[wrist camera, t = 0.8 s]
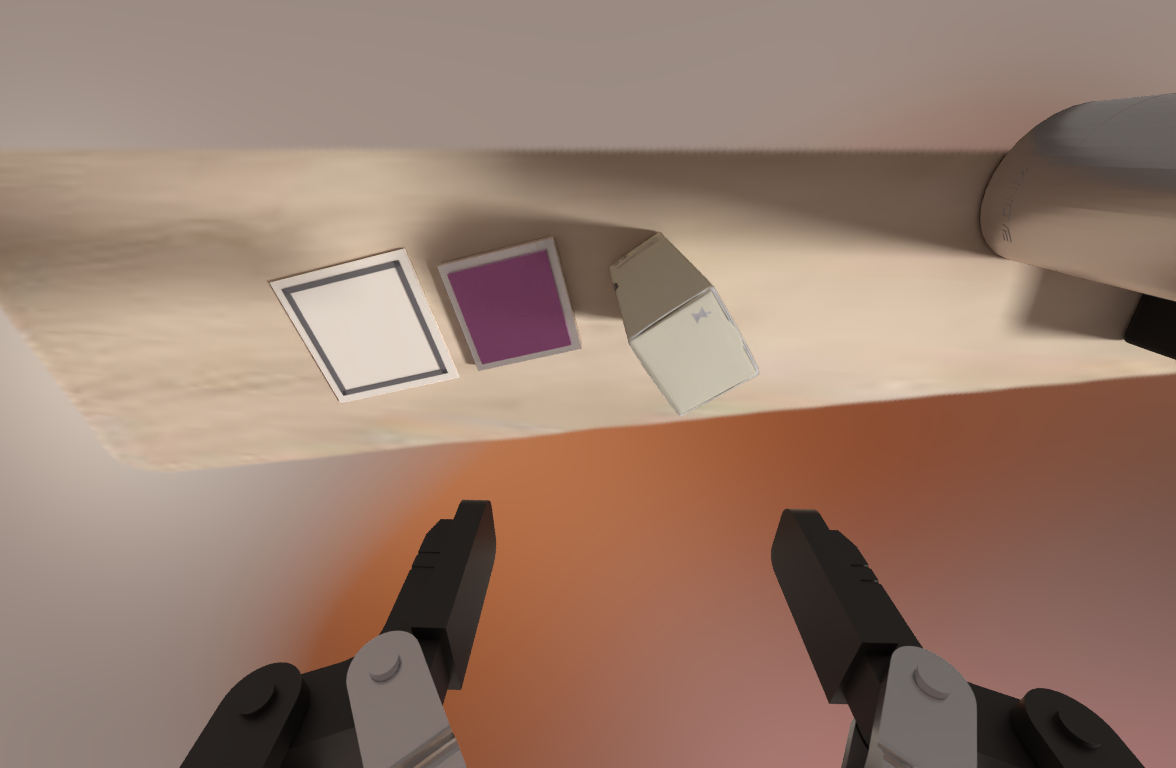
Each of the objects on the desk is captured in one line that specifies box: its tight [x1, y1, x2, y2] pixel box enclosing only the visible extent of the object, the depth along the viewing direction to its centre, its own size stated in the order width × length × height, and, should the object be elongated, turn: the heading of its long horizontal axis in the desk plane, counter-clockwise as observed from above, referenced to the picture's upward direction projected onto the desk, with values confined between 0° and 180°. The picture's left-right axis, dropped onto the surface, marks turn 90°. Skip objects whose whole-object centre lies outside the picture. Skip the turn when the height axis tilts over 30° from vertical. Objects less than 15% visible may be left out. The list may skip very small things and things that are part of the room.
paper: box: [270, 248, 459, 403], centre depth 31 cm, size 10×10×1 cm
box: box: [609, 232, 759, 416], centre depth 24 cm, size 5×4×13 cm
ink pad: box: [437, 235, 582, 371], centre depth 30 cm, size 8×8×1 cm
